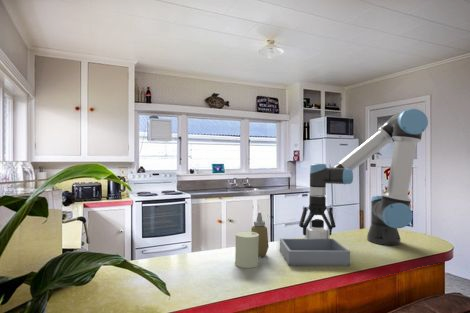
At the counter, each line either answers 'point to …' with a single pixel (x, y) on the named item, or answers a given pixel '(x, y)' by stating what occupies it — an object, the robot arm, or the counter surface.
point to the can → (246, 249)
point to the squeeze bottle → (261, 235)
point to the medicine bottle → (317, 230)
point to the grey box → (314, 252)
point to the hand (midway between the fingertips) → (316, 241)
